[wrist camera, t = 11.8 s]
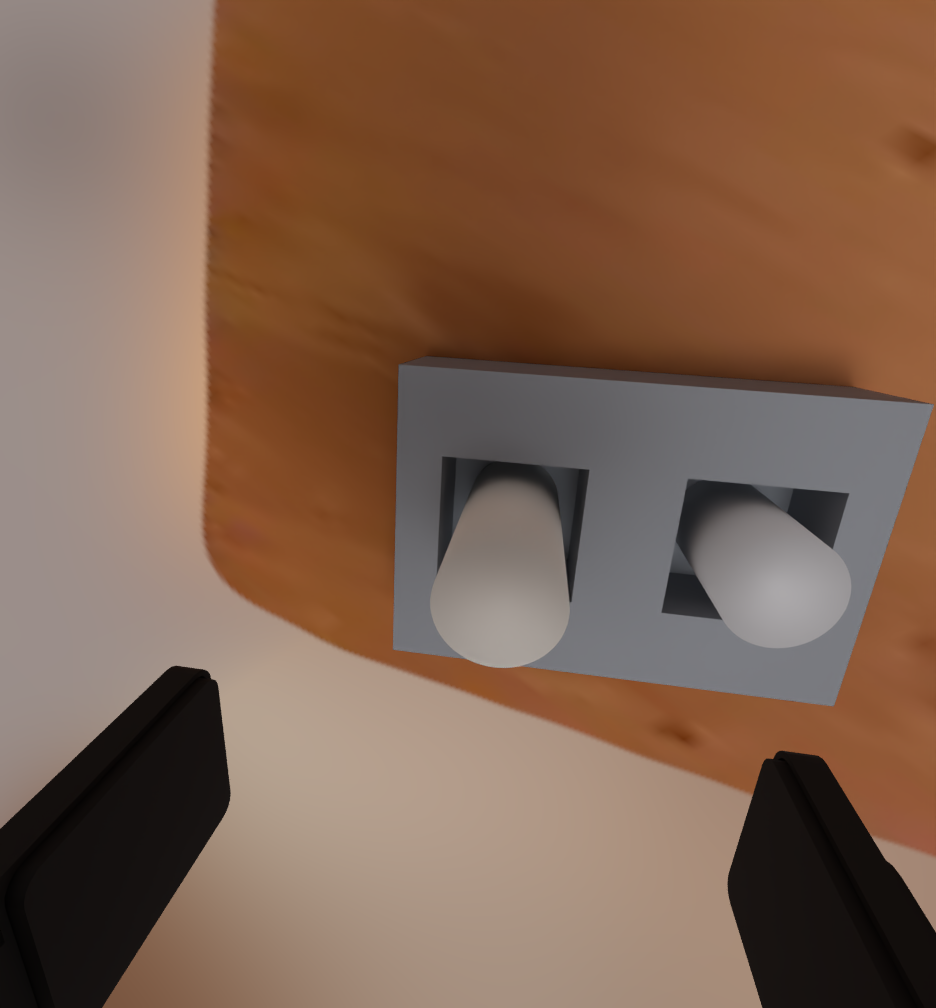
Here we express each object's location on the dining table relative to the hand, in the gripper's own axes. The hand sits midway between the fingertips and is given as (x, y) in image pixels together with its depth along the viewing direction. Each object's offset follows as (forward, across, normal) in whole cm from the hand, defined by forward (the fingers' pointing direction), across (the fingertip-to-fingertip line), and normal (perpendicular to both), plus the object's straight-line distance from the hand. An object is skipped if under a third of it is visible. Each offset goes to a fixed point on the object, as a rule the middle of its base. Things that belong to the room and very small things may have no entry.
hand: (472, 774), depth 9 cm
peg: (+17, 0, +1) cm, 17 cm away
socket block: (+18, -4, +1) cm, 18 cm away
